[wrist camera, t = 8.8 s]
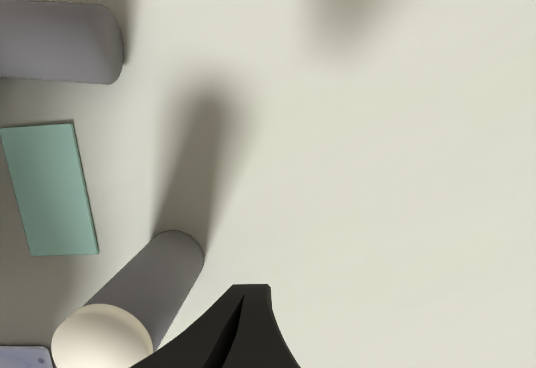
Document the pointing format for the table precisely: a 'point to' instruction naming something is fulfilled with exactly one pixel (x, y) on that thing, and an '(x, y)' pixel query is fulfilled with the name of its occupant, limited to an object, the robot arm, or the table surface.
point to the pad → (50, 189)
